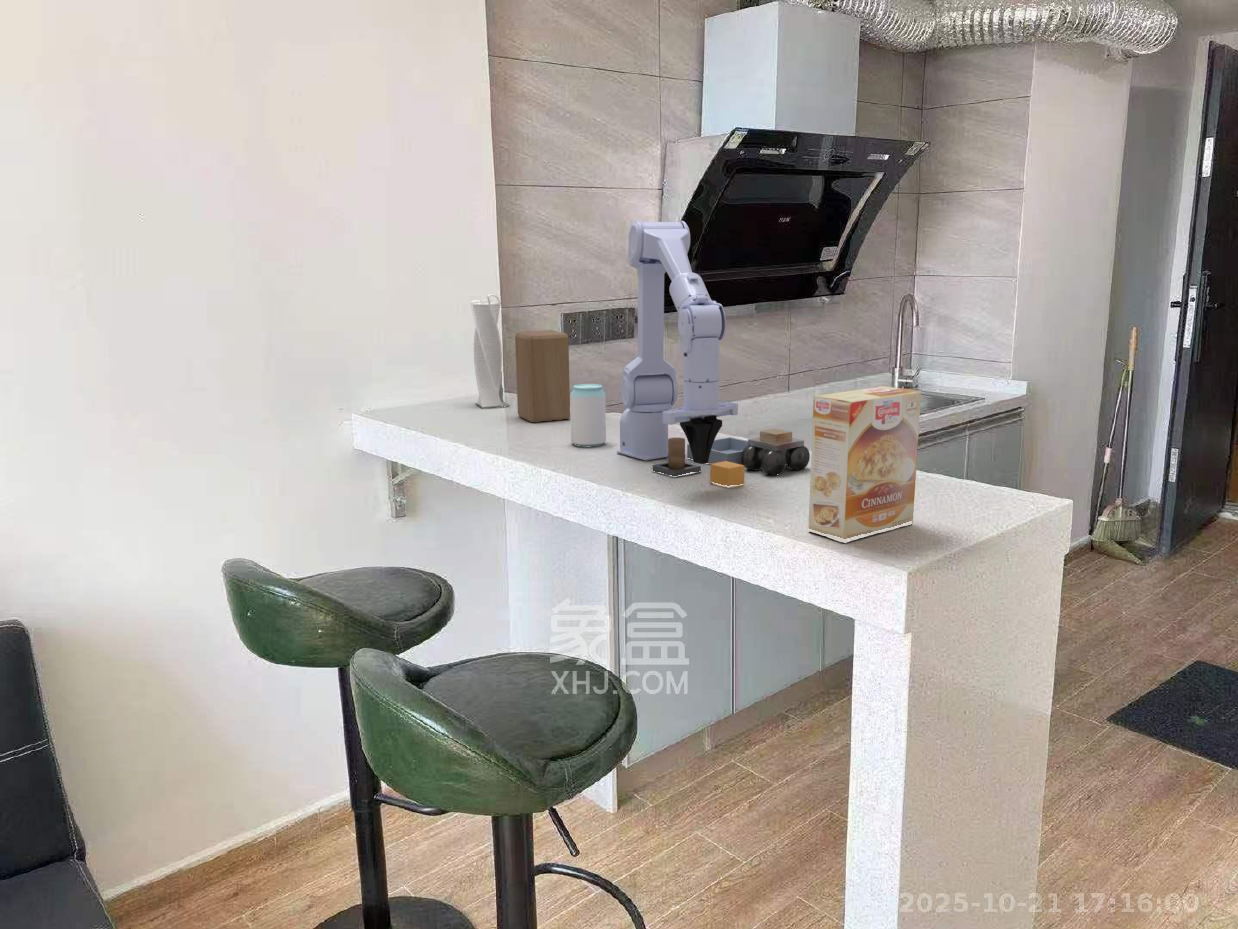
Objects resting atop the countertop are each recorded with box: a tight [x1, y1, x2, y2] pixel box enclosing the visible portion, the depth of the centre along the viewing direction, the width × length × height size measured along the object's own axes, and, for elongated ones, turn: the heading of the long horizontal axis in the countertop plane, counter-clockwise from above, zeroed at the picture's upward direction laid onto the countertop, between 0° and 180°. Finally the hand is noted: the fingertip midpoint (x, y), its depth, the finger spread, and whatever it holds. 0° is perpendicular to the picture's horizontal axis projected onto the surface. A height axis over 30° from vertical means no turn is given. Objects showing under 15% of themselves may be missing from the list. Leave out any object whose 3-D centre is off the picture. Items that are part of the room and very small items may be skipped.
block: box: [514, 329, 571, 423], centre depth 224 cm, size 10×10×20 cm
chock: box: [709, 461, 745, 486], centre depth 163 cm, size 4×4×4 cm
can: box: [570, 383, 607, 447], centre depth 196 cm, size 7×7×12 cm
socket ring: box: [651, 461, 702, 476], centre depth 172 cm, size 6×6×1 cm
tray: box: [686, 436, 766, 465], centre depth 181 cm, size 11×11×3 cm
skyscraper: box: [470, 293, 511, 409], centre depth 241 cm, size 8×8×28 cm
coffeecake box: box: [807, 385, 922, 539], centre depth 136 cm, size 15×7×20 cm, turn 126°
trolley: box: [741, 428, 811, 476], centre depth 173 cm, size 7×10×7 cm
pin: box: [667, 437, 686, 470], centre depth 172 cm, size 3×3×6 cm
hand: (700, 462), depth 159 cm, fingers closed
